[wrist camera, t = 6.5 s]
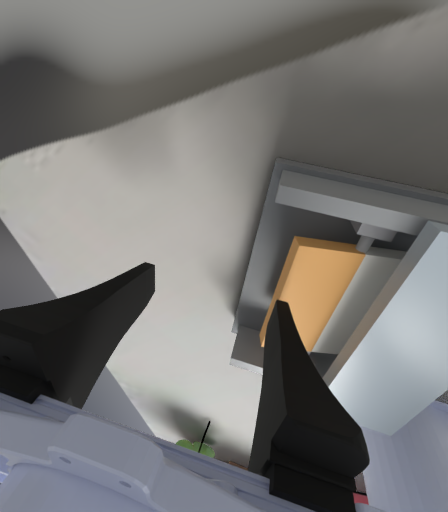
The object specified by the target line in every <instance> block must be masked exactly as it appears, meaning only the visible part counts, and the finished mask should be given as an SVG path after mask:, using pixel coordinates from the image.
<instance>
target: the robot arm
mask: <svg viewBox="0 0 448 512" xmlns="http://www.w3.org/2000/svg"><path fill="white" fill-rule="evenodd" d="M154 292H155V265H153V264H150V263H146V262H145V263H143V264H141V265H139V266H137V267H135V268H133V269H131V270H129V271H127V272H125V273H123V274H121V275H119V276H117V277H115V278H113V279H111V280H108V281H106V282H104V283H102V284H99V285H97V286H95V287H92V288H90V289H87V290H84V291H81V292H79V293H76V294H72V295H69V296H65V297H62V298H59V299H55V300H51V301H47V302H43V303H38V304H34V305H28V306H22V307H16V308H10V309H3V310H1V311H0V483H1V485H0V512H448V404H446V403H443V402H439V401H436V400H435V401H433V402H432V403H431V404H430V405H428V406H427V407H426V408H425V409H424V410H422V411H421V412H420V413H419V414H417V415H416V416H415V417H414V418H412V419H411V420H410V421H409V422H408V423H406V424H405V425H404V426H403V427H401V428H400V429H399V430H398V431H397V432H395V433H394V434H393V435H392V436H389V435H386V434H383V433H380V432H377V431H374V430H371V429H368V428H365V427H362V426H359V425H358V424H357V423H356V421H355V420H354V419H353V418H352V417H351V416H350V414H349V413H348V412H347V411H346V410H345V409H344V407H343V406H342V405H341V404H340V402H339V401H338V400H337V398H336V397H335V396H334V395H333V393H332V392H331V390H330V389H329V387H328V386H327V384H326V383H325V382H324V380H323V379H322V377H321V375H320V374H319V372H318V371H317V369H316V367H315V366H314V364H313V362H312V360H311V358H310V356H309V355H308V353H307V351H306V348H305V346H304V344H303V342H302V340H301V338H300V335H299V333H298V330H297V328H296V325H295V322H294V319H293V316H292V313H291V310H290V306H289V304H288V302H285V301H281V300H278V299H277V300H276V302H275V305H274V308H273V310H272V313H271V316H270V319H269V321H268V324H267V329H266V335H265V341H264V358H263V377H262V388H261V395H260V402H259V408H258V415H257V421H256V427H255V433H254V439H253V445H252V450H251V456H250V461H249V467H248V471H247V470H244V469H241V468H239V467H236V466H233V465H231V464H228V463H225V462H222V461H220V460H217V459H214V458H212V457H209V456H206V455H204V454H201V453H198V452H195V451H193V450H190V449H187V448H185V447H182V446H179V445H176V444H174V443H171V442H168V441H166V440H163V439H160V438H158V437H155V436H152V435H149V434H146V433H144V432H141V431H139V430H136V429H133V428H131V427H128V426H125V425H122V424H120V423H117V422H114V421H112V420H109V419H106V418H104V417H101V416H98V415H95V414H93V413H90V412H87V411H84V410H82V407H83V405H84V404H85V402H86V400H87V397H88V396H89V394H90V392H91V390H92V388H93V386H94V384H95V383H96V380H97V379H98V377H99V375H100V373H101V372H102V370H103V368H104V367H105V365H106V363H107V362H108V360H109V358H110V356H111V355H112V353H113V352H114V350H115V348H116V347H117V345H118V343H119V342H120V340H121V339H122V338H123V336H124V335H125V333H126V332H127V331H128V330H129V328H130V327H131V326H132V324H133V323H134V322H135V320H136V319H137V318H138V317H139V315H140V314H141V313H142V311H143V310H144V309H145V307H146V306H147V304H148V303H149V301H150V299H151V297H152V296H153V294H154ZM362 471H363V476H364V481H365V487H366V492H367V497H368V503H369V505H367V504H363V503H354V496H353V492H355V491H356V485H355V479H354V477H356V476H357V475H358V474H360V473H361V472H362Z"/></svg>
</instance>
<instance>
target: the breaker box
mask: <svg viewBox="0 0 448 512" xmlns="http://www.w3.org/2000/svg"><path fill="white" fill-rule="evenodd" d="M428 221H432V222H437V223H441V224H445V225H448V194H447V193H442V192H438V191H433V190H428V189H424V188H419V187H414V186H409V185H405V184H400V183H395V182H391V181H386V180H381V179H376V178H372V177H367V176H362V175H358V174H353V173H348V172H344V171H339V170H334V169H329V168H325V167H320V166H315V165H311V164H306V163H301V162H296V161H292V160H287V159H282V158H278V157H277V159H276V161H275V165H274V169H273V173H272V177H271V180H270V184H269V188H268V192H267V196H266V200H265V204H264V208H263V211H262V215H261V219H260V223H259V227H258V231H257V235H256V239H255V242H254V246H253V250H252V254H251V258H250V262H249V266H248V269H247V273H246V277H245V281H244V285H243V289H242V293H241V297H240V300H239V304H238V308H237V312H236V316H235V320H234V324H233V328H232V331H231V332H233V333H236V334H237V336H236V340H235V344H234V348H233V352H232V356H231V360H230V363H229V365H232V366H235V367H238V368H241V369H245V370H248V371H251V372H254V373H257V374H260V375H263V358H264V347H261V342H260V336H259V334H260V331H261V329H262V326H263V323H264V320H265V317H266V315H267V312H268V309H269V306H270V303H271V301H272V298H273V295H274V292H275V289H276V286H277V284H278V281H279V278H280V275H281V272H282V270H283V267H284V264H285V261H286V258H287V256H288V253H289V250H290V247H291V244H292V242H293V239H294V236H299V237H306V238H313V239H320V240H327V241H334V242H341V243H349V244H356V245H357V243H358V241H359V240H360V238H361V236H362V235H363V236H367V237H371V238H375V239H374V241H373V243H372V245H371V246H370V247H377V248H384V249H391V250H398V251H406V252H408V250H409V249H410V247H411V246H412V244H413V243H414V241H415V240H416V238H417V237H418V235H419V234H420V232H421V231H422V229H423V228H424V226H425V225H426V223H427V222H428ZM309 356H310V358H311V360H312V362H313V364H314V366H315V367H316V369H317V371H318V372H319V374H320V375H321V377H322V378H323V377H324V375H325V374H326V372H327V371H328V369H329V368H330V366H331V365H332V363H333V362H334V360H335V359H336V357H337V356H338V354H328V353H318V352H311V353H310V354H309Z"/></svg>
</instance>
